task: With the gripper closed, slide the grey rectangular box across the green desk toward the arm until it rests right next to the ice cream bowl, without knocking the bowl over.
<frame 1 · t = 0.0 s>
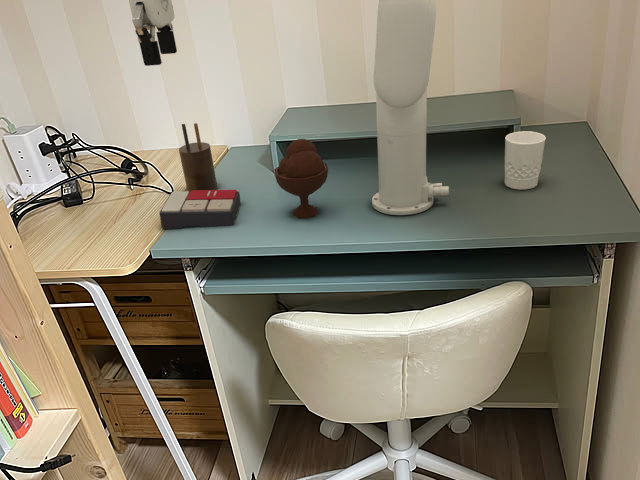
hand: (161, 59, 122), 31 cm above the table, tool pointing down, fingers open, 9 cm apart
ice cream bowl: (305, 213, 134), on the table
pencil cup: (202, 189, 149), on the table
white cup: (520, 184, 137), on the table
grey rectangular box: (203, 217, 136), on the table
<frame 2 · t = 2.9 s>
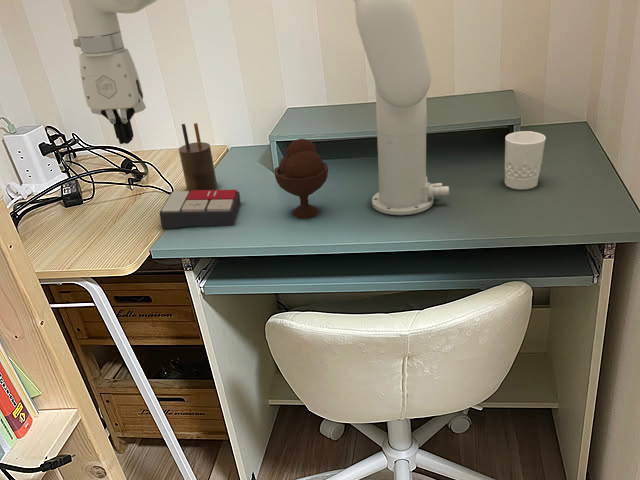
hand: (126, 141, 129), 17 cm above the table, tool pointing down, fingers closed
nothing on the table moved.
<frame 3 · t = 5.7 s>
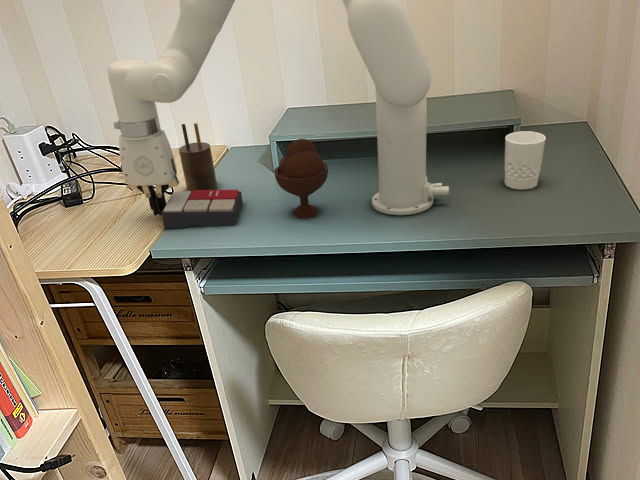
hand: (160, 212, 137), 1 cm above the table, tool pointing down, fingers closed
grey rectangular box: (205, 217, 136), on the table, touching gripper
everything else where it was.
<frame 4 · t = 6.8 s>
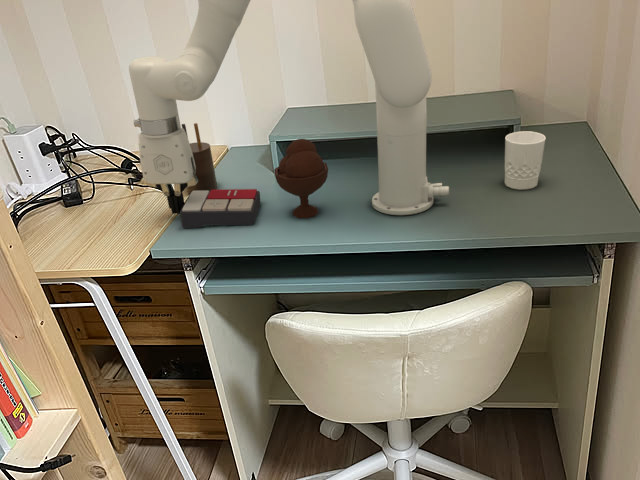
hand: (178, 211, 136), 1 cm above the table, tool pointing down, fingers closed
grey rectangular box: (223, 216, 136), on the table, touching gripper
everything else where it was.
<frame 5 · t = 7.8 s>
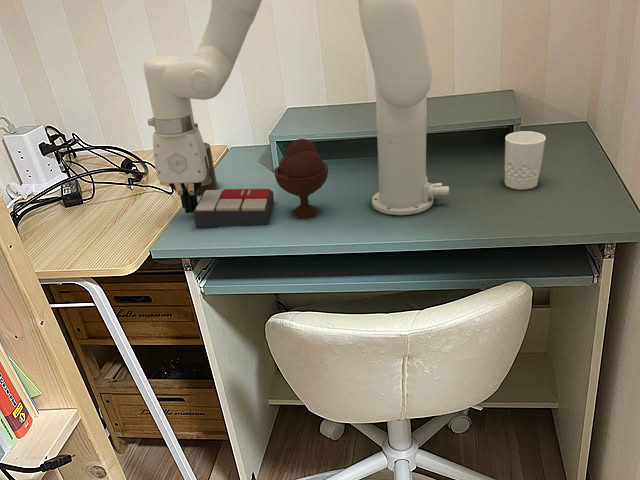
hand: (191, 210, 136), 1 cm above the table, tool pointing down, fingers closed
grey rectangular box: (236, 216, 135), on the table, touching gripper
everything else where it was.
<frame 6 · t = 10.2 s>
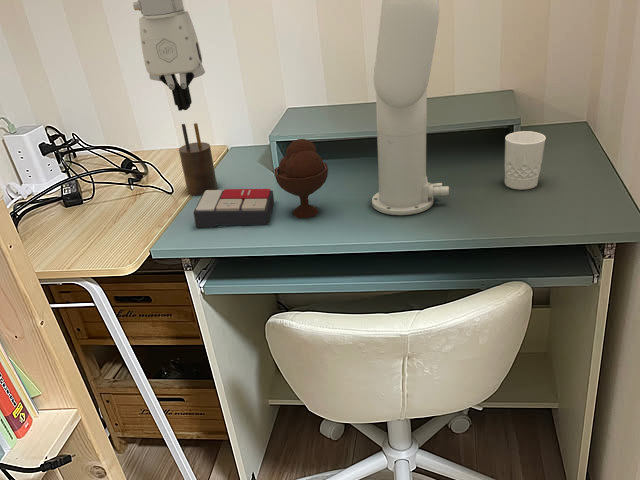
hand: (184, 108, 127), 22 cm above the table, tool pointing down, fingers closed
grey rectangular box: (236, 216, 135), on the table
everything else where it was.
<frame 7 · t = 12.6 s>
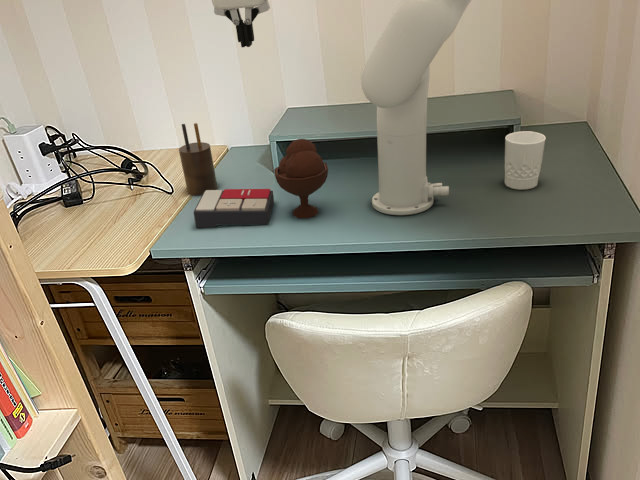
hand: (246, 45, 127), 31 cm above the table, tool pointing down, fingers closed
nothing on the table moved.
at the end: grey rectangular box 1.3 cm from the target spot on the table beside the ice cream bowl, on the table; ice cream bowl moved 0.2 cm from its start; ice cream bowl tilted 0° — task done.
